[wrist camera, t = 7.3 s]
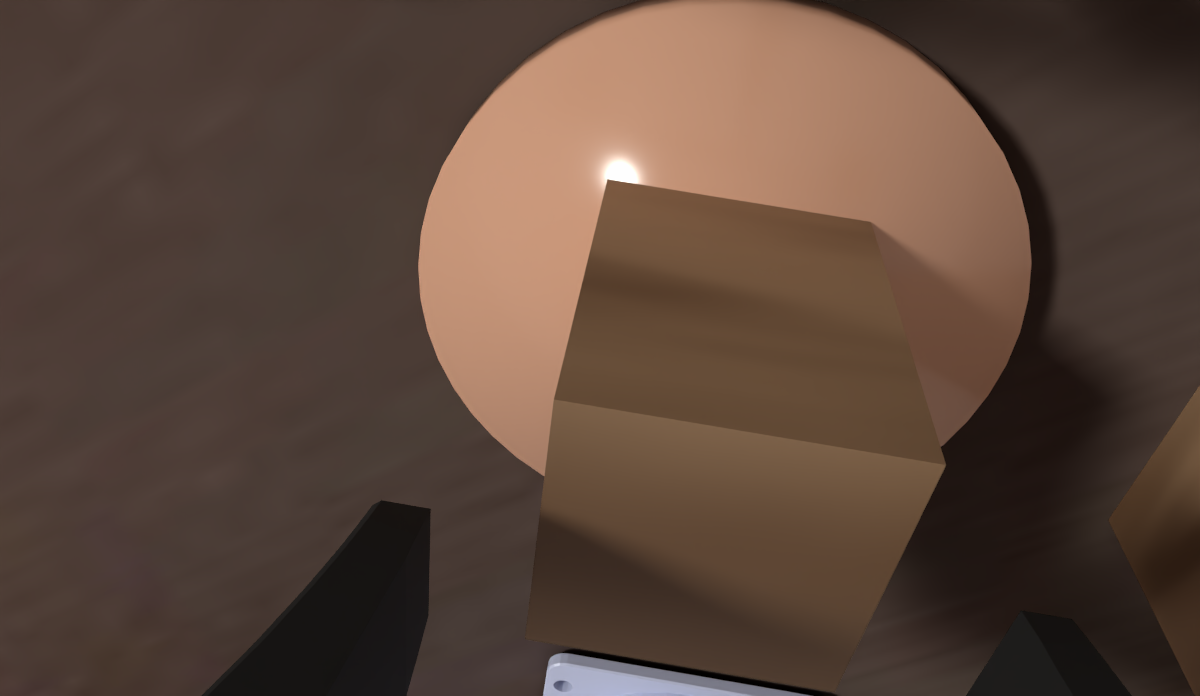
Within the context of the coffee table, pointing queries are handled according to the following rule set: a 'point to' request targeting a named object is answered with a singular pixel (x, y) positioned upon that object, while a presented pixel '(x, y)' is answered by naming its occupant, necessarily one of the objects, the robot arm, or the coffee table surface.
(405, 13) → the coffee table surface
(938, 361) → the peach flat disc
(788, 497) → the block
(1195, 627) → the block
